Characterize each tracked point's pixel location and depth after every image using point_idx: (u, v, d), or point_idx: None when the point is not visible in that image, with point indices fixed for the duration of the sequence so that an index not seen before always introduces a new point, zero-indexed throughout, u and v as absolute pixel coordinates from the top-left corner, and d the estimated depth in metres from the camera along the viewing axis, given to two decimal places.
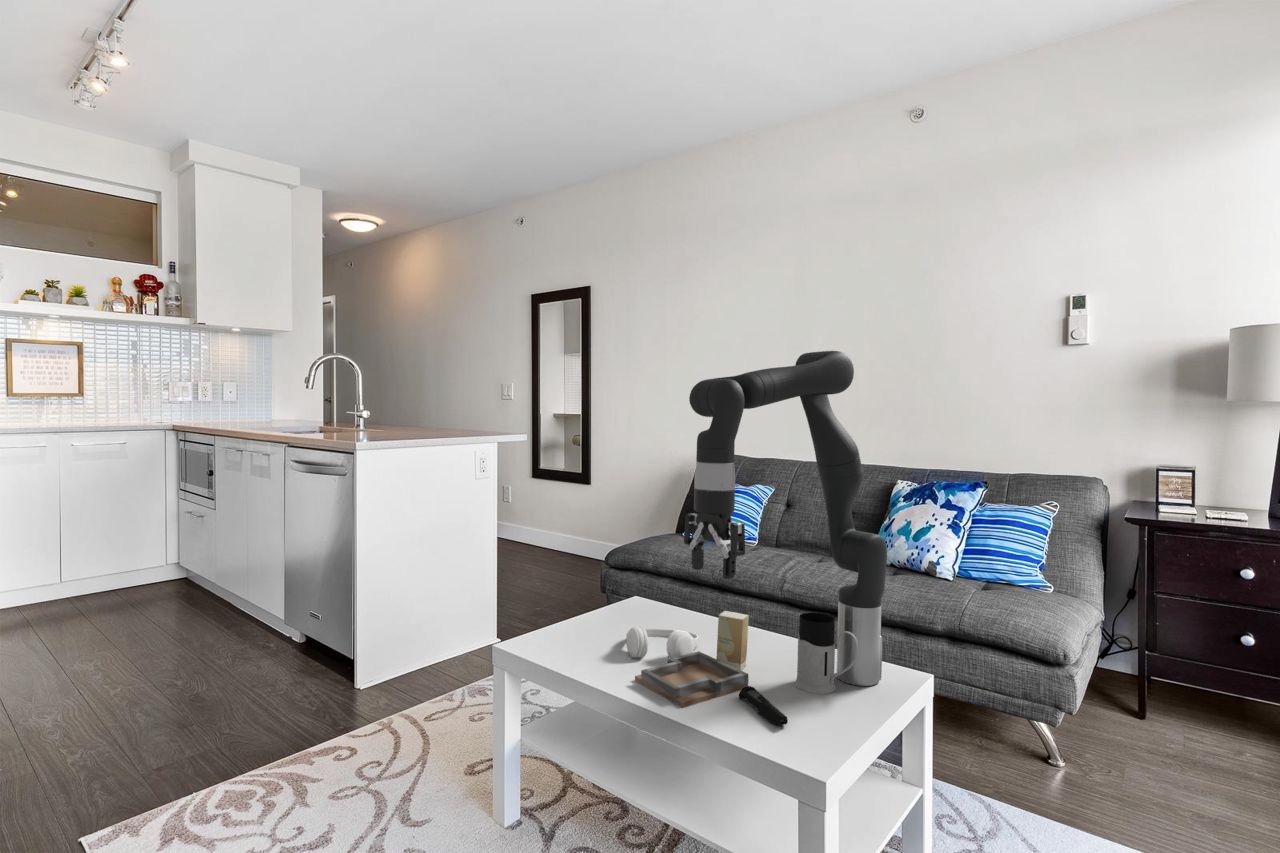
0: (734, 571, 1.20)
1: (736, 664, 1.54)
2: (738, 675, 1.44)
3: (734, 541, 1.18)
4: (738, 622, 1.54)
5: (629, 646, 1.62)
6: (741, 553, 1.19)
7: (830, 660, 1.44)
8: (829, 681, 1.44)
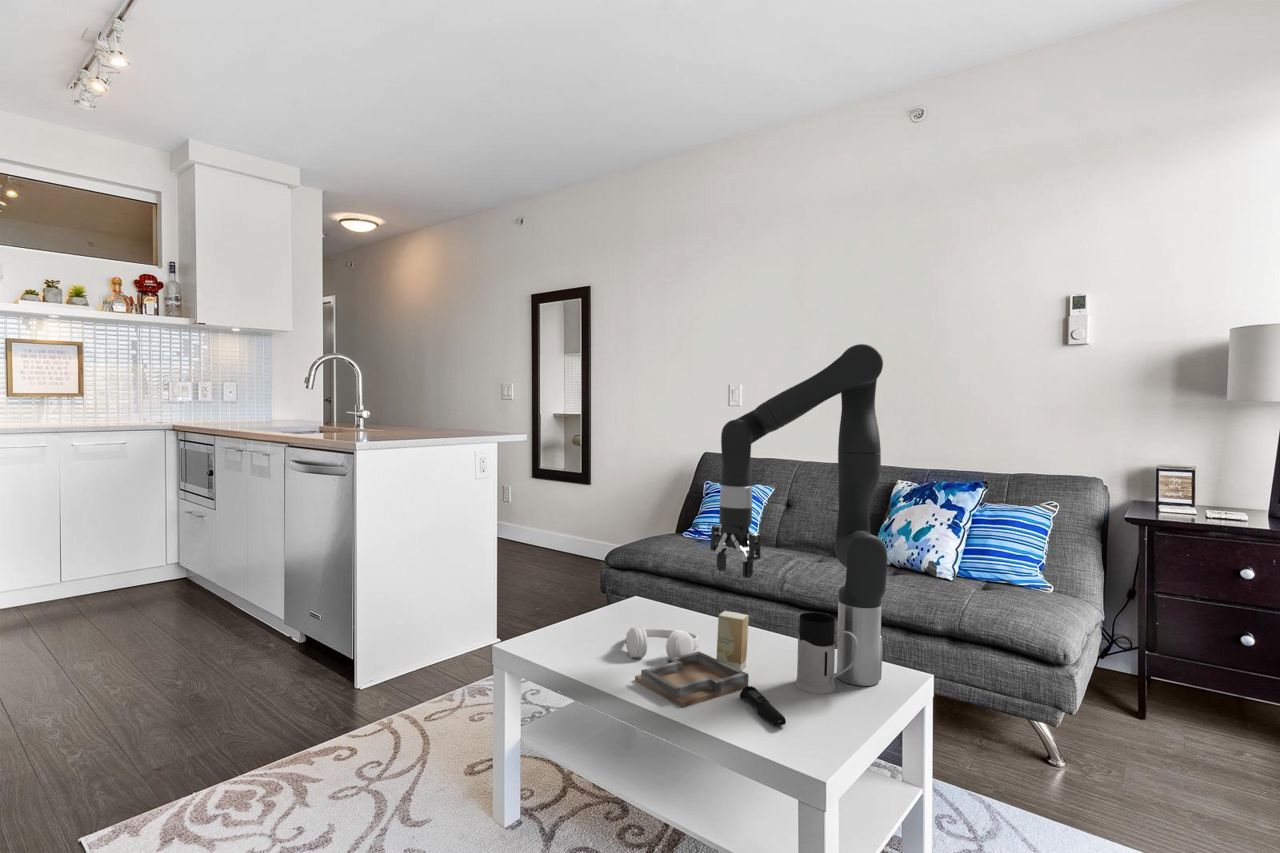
0: (751, 572, 1.53)
1: (736, 664, 1.54)
2: (738, 675, 1.44)
3: (752, 548, 1.50)
4: (738, 623, 1.54)
5: (628, 646, 1.62)
6: (757, 557, 1.51)
7: (830, 660, 1.44)
8: (829, 681, 1.44)
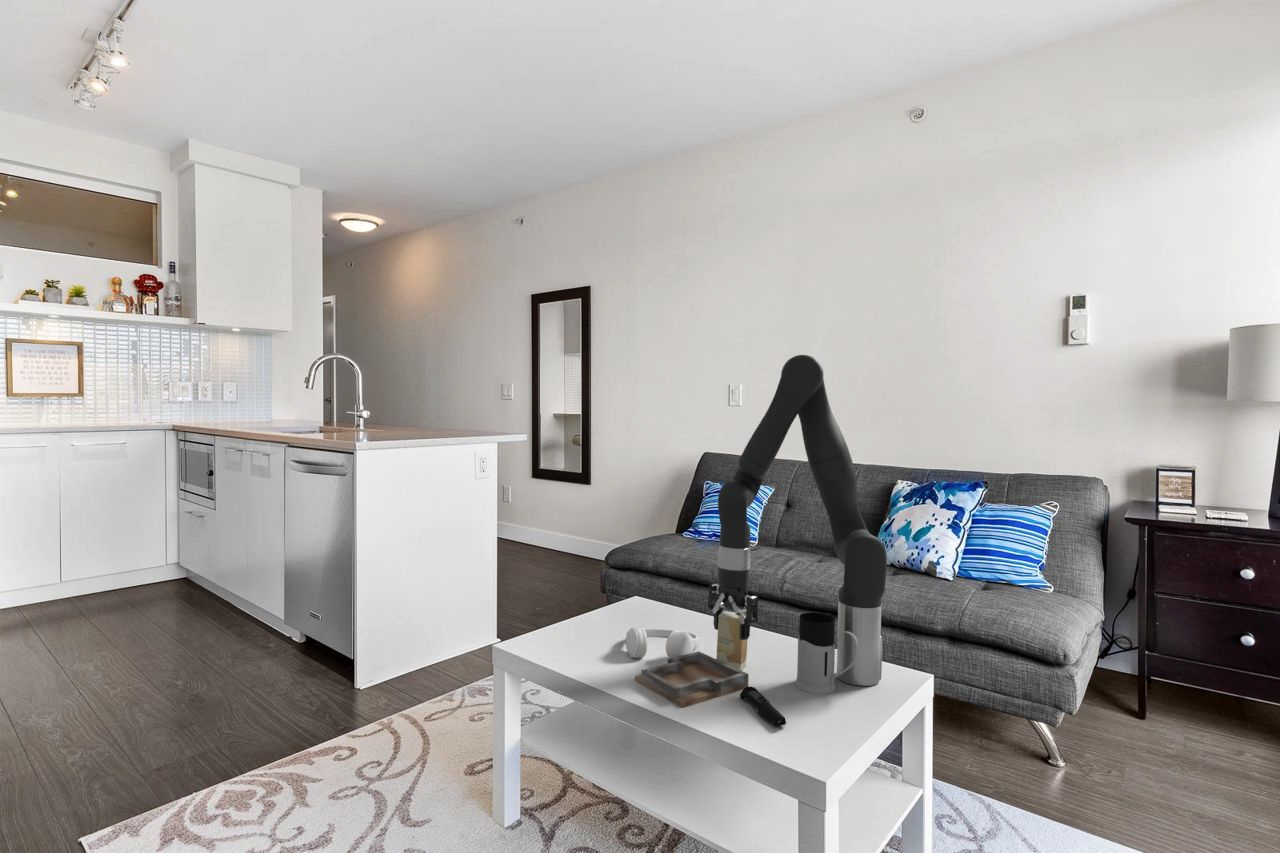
0: (748, 634, 1.53)
1: (736, 664, 1.54)
2: (738, 675, 1.44)
3: (749, 611, 1.50)
4: (738, 622, 1.54)
5: (628, 646, 1.62)
6: (754, 620, 1.51)
7: (830, 660, 1.44)
8: (829, 681, 1.44)
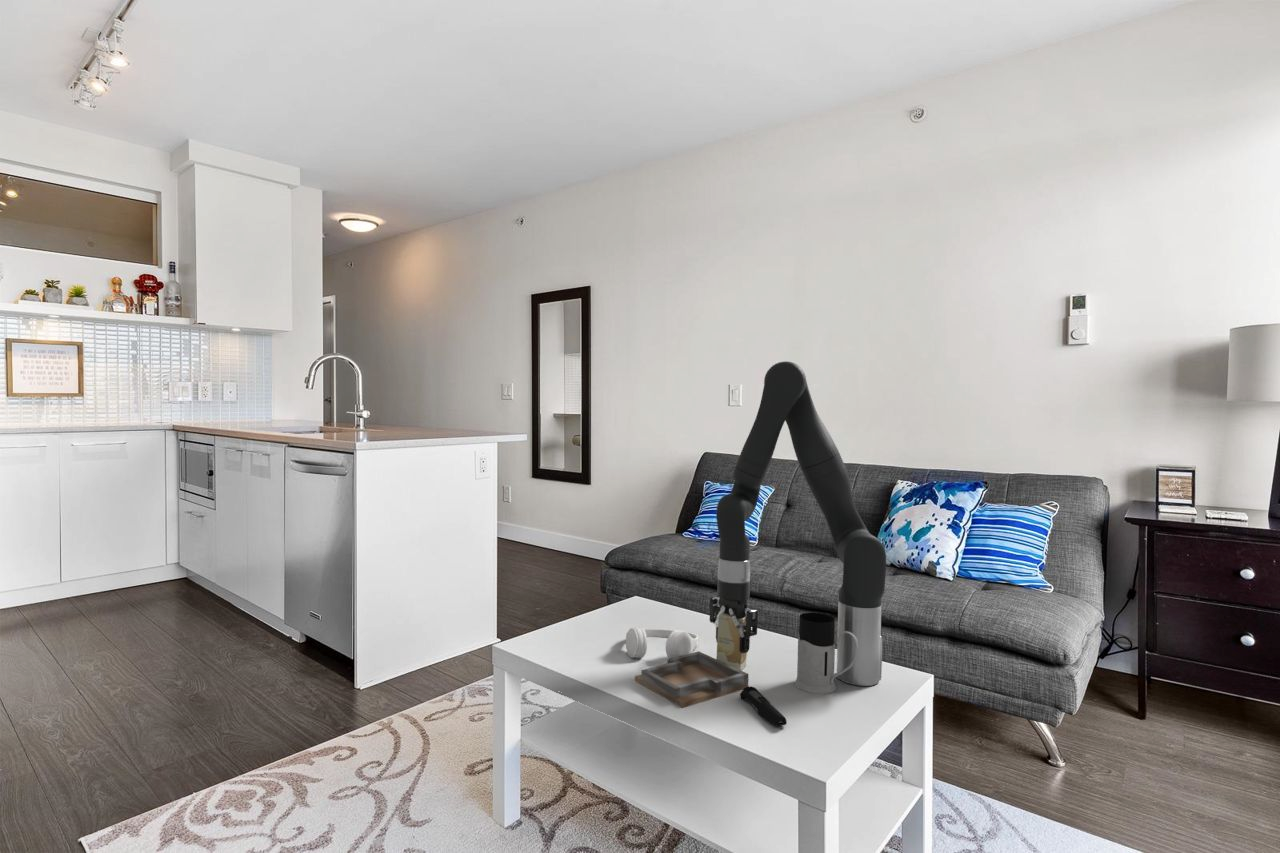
0: (748, 647, 1.53)
1: (736, 664, 1.54)
2: (738, 675, 1.44)
3: (749, 625, 1.51)
4: None
5: (628, 646, 1.62)
6: (754, 634, 1.52)
7: (830, 660, 1.44)
8: (829, 681, 1.44)
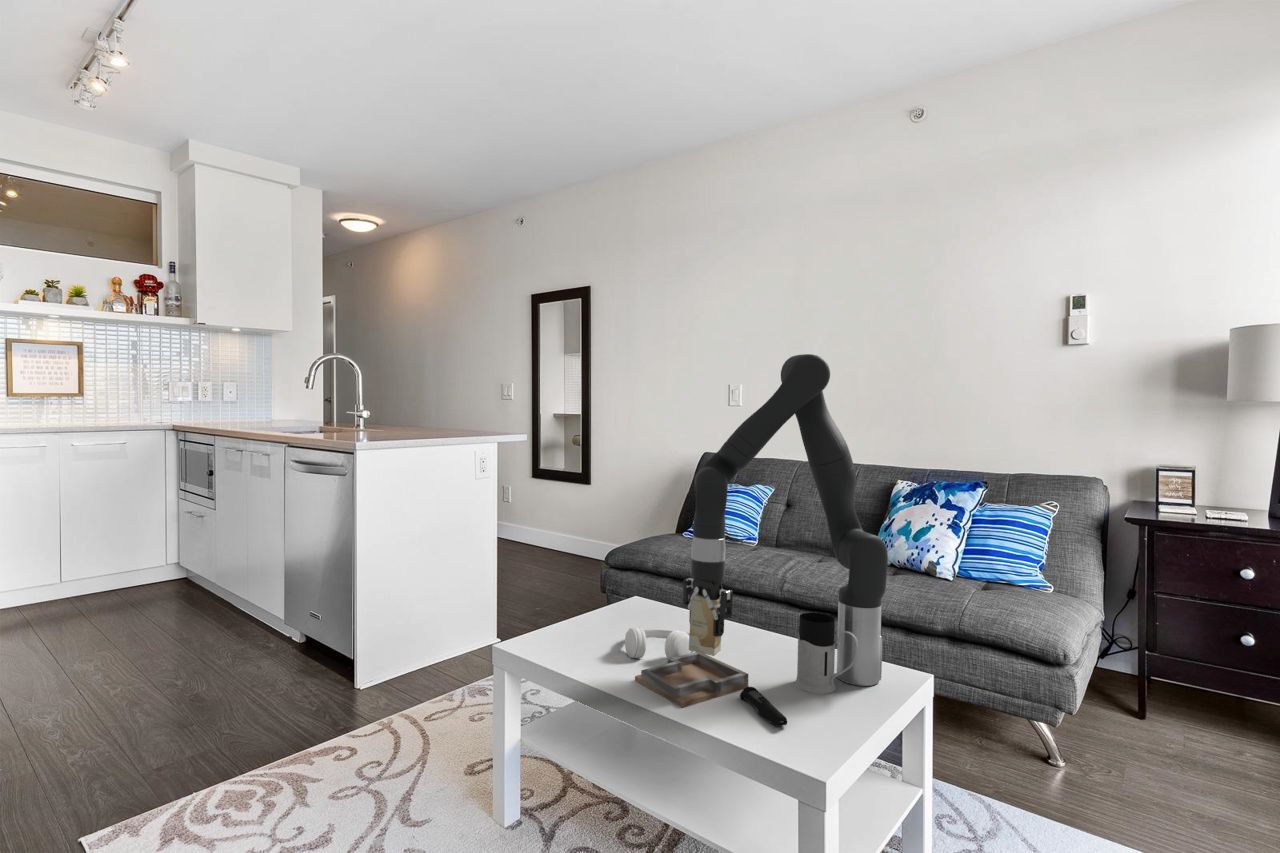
0: (722, 630, 1.44)
1: (709, 648, 1.45)
2: (738, 675, 1.44)
3: (723, 606, 1.42)
4: None
5: (627, 646, 1.61)
6: (728, 616, 1.43)
7: (830, 660, 1.44)
8: (829, 681, 1.44)
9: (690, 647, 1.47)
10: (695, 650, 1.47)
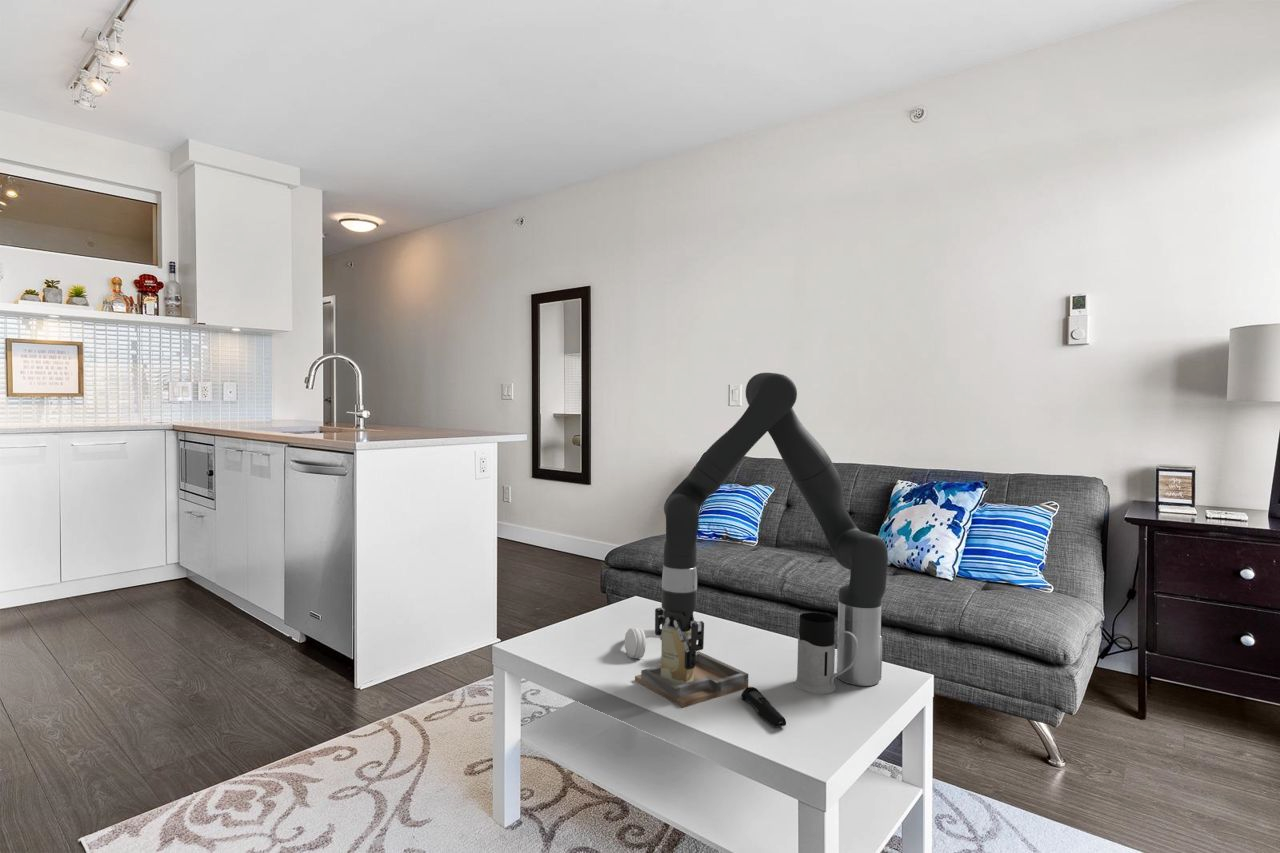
0: (694, 663, 1.40)
1: (681, 681, 1.41)
2: (738, 675, 1.44)
3: (694, 639, 1.37)
4: None
5: (626, 646, 1.61)
6: (700, 648, 1.38)
7: (830, 660, 1.44)
8: (829, 681, 1.44)
9: None
10: None
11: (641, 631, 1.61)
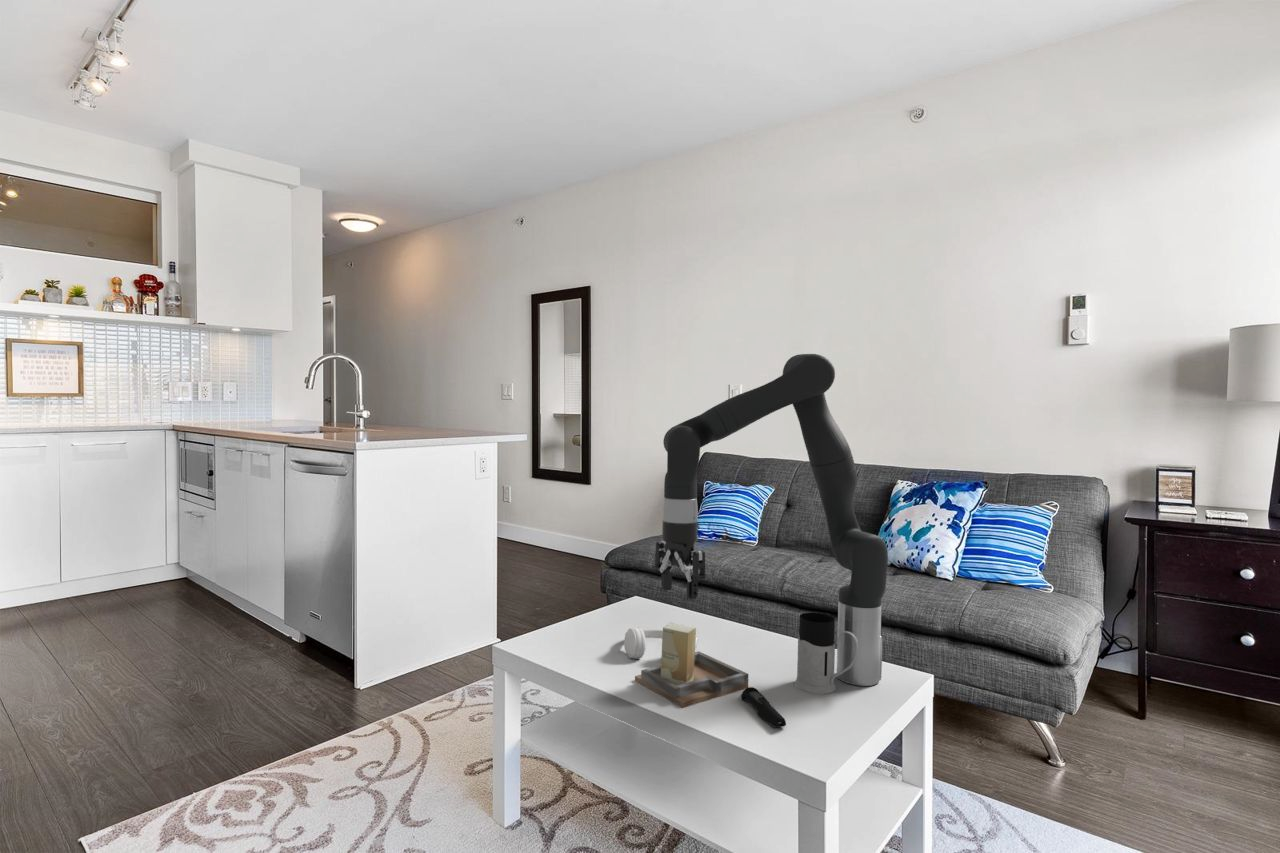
0: (696, 593, 1.39)
1: (681, 681, 1.41)
2: (738, 675, 1.44)
3: (695, 567, 1.37)
4: (684, 636, 1.41)
5: (626, 646, 1.61)
6: (702, 577, 1.38)
7: (830, 660, 1.44)
8: (829, 681, 1.44)
9: None
10: None
11: (641, 631, 1.61)
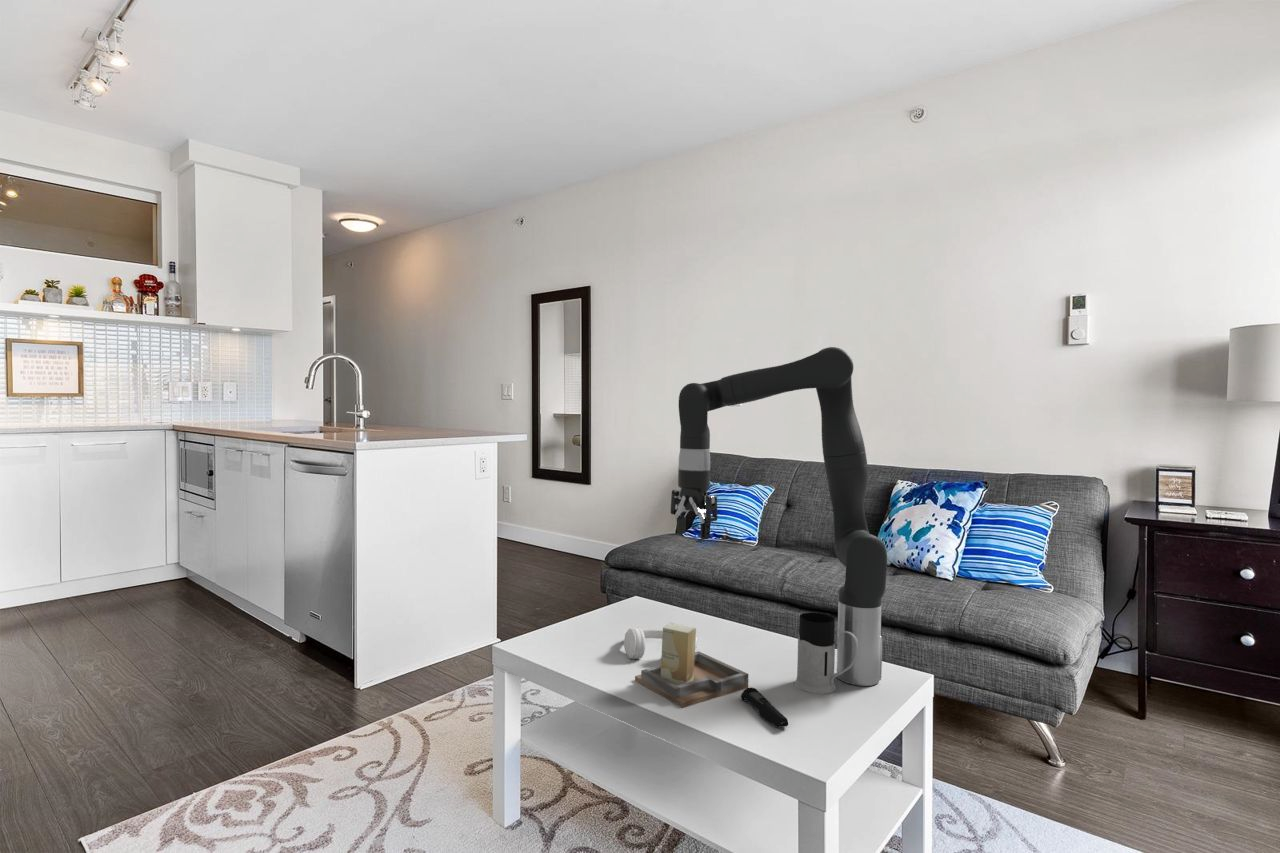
0: (709, 533, 1.54)
1: (681, 681, 1.41)
2: (738, 675, 1.44)
3: (708, 509, 1.52)
4: (684, 636, 1.41)
5: (626, 646, 1.61)
6: (714, 519, 1.53)
7: (830, 660, 1.44)
8: (829, 681, 1.44)
9: None
10: None
11: (641, 631, 1.60)
